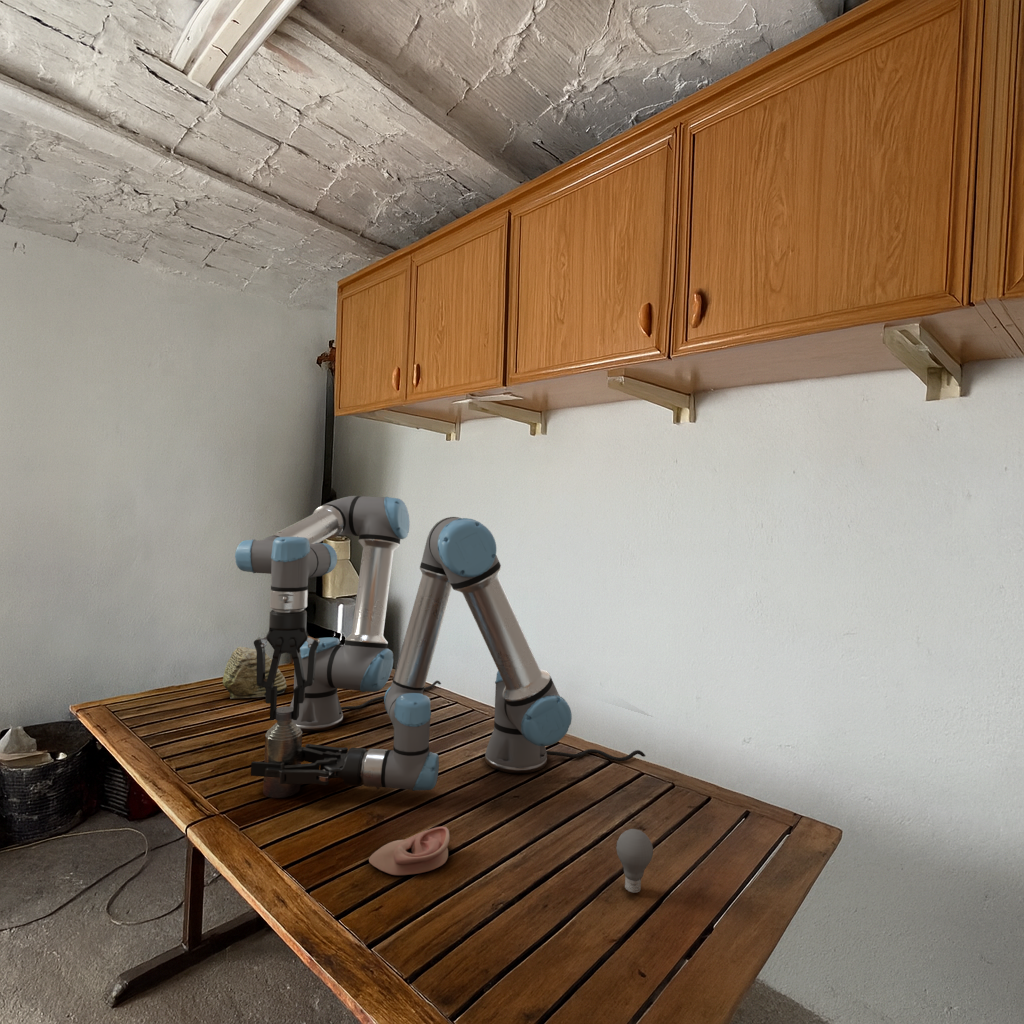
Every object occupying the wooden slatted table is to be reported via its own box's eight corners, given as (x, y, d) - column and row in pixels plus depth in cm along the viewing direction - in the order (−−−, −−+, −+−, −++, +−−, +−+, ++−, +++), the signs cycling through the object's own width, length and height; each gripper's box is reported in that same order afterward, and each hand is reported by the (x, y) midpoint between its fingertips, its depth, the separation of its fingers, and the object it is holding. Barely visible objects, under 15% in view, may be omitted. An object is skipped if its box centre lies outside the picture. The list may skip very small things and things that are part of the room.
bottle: (289, 779, 141) (292, 703, 141) (306, 790, 136) (309, 712, 136) (257, 789, 136) (259, 711, 135) (273, 801, 131) (276, 720, 130)
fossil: (218, 695, 195) (220, 647, 195) (278, 685, 208) (279, 640, 207) (228, 703, 189) (230, 653, 188) (289, 692, 201) (290, 645, 201)
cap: (269, 718, 135) (269, 710, 135) (283, 713, 139) (284, 705, 138) (285, 722, 133) (285, 714, 133) (299, 716, 137) (299, 708, 137)
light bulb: (610, 879, 108) (613, 822, 108) (644, 879, 109) (647, 822, 109) (619, 902, 102) (622, 840, 102) (655, 901, 103) (658, 840, 103)
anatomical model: (361, 846, 108) (388, 814, 119) (360, 870, 108) (387, 835, 119) (436, 859, 105) (456, 825, 117) (435, 882, 105) (455, 846, 117)
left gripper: (241, 611, 130) (237, 724, 131) (327, 613, 133) (323, 723, 133) (251, 605, 138) (247, 712, 138) (332, 607, 140) (328, 711, 141)
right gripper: (350, 807, 125) (237, 800, 126) (377, 764, 145) (279, 758, 146) (351, 770, 125) (238, 762, 126) (378, 732, 145) (280, 726, 146)
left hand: (284, 717), depth 136 cm, fingers closed on cap, 4 cm apart
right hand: (260, 760), depth 136 cm, fingers closed on bottle, 7 cm apart
